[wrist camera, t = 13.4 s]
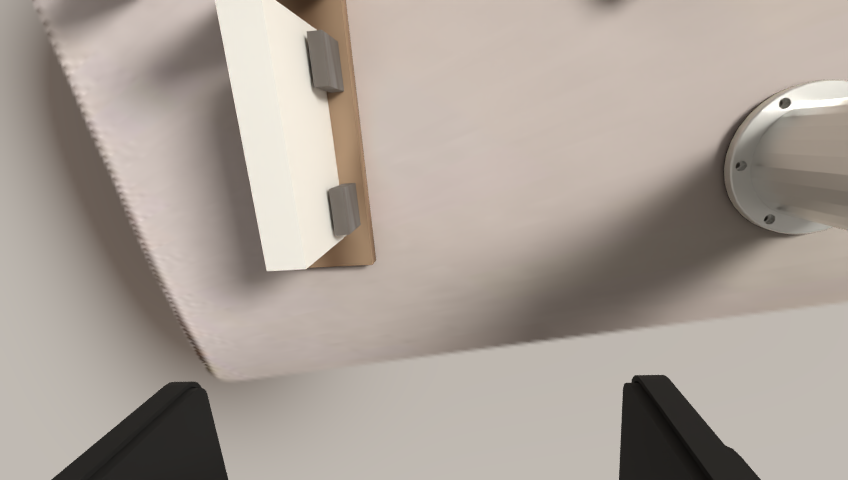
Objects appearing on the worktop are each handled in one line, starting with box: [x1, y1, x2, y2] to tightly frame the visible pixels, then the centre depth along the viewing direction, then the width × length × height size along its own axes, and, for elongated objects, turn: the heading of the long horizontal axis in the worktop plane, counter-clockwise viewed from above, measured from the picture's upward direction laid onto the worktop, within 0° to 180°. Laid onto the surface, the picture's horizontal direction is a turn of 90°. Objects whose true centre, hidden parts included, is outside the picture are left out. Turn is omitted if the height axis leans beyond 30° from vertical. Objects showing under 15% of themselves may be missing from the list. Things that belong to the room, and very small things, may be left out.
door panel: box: [215, 0, 346, 271], centre depth 31 cm, size 4×18×10 cm, turn 5°
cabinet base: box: [276, 0, 376, 268], centre depth 31 cm, size 8×26×14 cm, turn 5°
